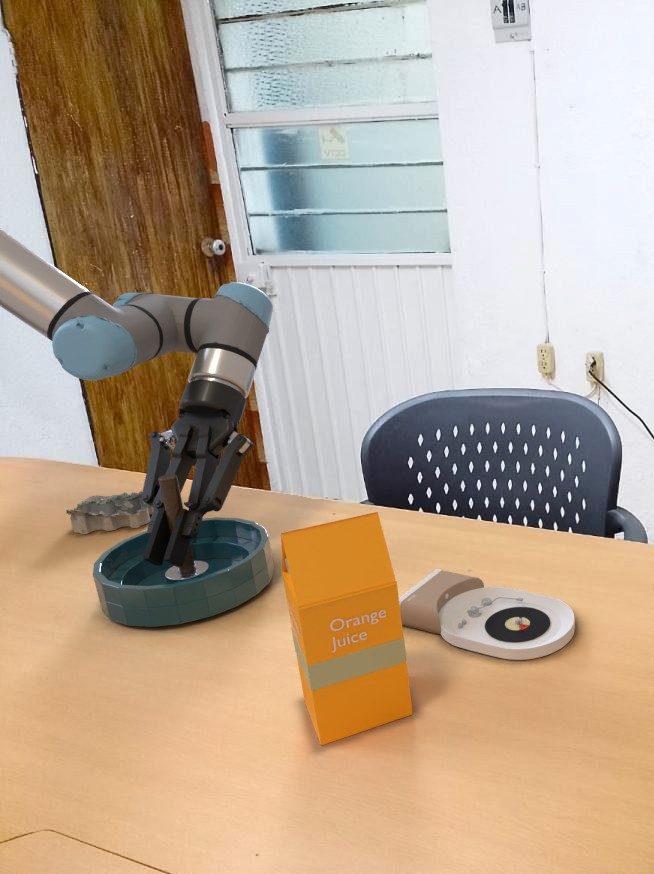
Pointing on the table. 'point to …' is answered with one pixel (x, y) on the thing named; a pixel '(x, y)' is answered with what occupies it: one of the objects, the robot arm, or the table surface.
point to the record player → (487, 616)
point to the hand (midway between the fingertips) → (162, 562)
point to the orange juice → (346, 626)
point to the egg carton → (110, 513)
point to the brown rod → (172, 507)
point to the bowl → (193, 599)
